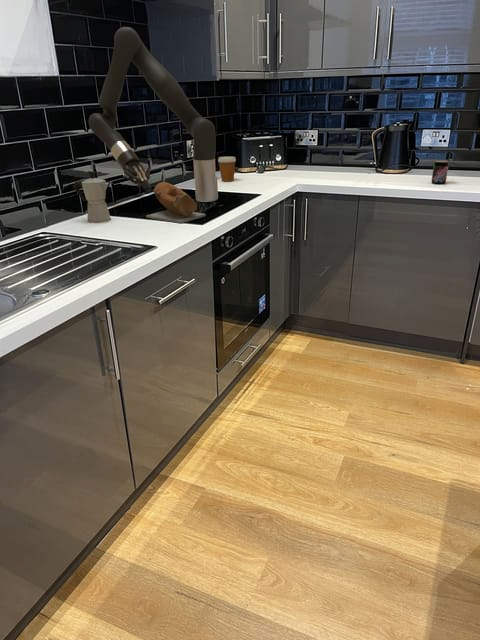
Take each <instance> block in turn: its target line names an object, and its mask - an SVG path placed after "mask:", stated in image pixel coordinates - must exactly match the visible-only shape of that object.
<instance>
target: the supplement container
mask: <svg viewBox="0 0 480 640" xmlns="http://www.w3.org/2000/svg"><path fill="white" fill-rule="evenodd" d="M449 165H450V160H443V159H442V160H441V159H440V160H438V159H437V160H434V161H433V168H432V175H431V181H430V182H431V184H433V185H442V186H443V185H445V184H447V183H446V182H447V179H448V178H447V177H448V170H449Z"/></svg>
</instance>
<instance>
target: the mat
mask: <svg viewBox="0 0 480 640" xmlns="http://www.w3.org/2000/svg"><path fill="white" fill-rule="evenodd" d="M206 216H207V215H206V213H202V212H196V211H194V212H193V213H192V214H190V215H189V216H188V217H184V216H180V215H178V214H176V213H174V212H172V211H170V210H169V209H165V210H161V211H157V212H155V213H151V214H146V215H145V217H146V218H148V219H153V220H157V221H164V222H168V223H169V222H170V223H176V224H179V225H180V224H184V223H187V222H190V221H193V220H197V219H200V218H203V217H206Z"/></svg>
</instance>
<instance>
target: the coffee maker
mask: <svg viewBox="0 0 480 640" xmlns="http://www.w3.org/2000/svg"><path fill="white" fill-rule="evenodd" d="M88 174H89V177H90V178H88V179H87V178H84V179H79V180H76V181H74V184H73V189H74V190H75V191H76V193H77V195H78V196H79V198H80V199H81V201H82V202H85V201H87V222H88V223H91V224H99V223H100V224H101V223H107V222H108V221H109V222H110V221H111V220H112V218H111V215H110V211H109V209H108V205H107V202H106V200H105V199H106V190H107V188H108V186H109V184H110V183H109V182H107V181H106V180H105V179H101V178H97V177H96V171H94V170H93V171H88ZM79 187H80V188H81V189H82V190H83V193H84V195H83V193H82V191H81V190H80V189H79Z"/></svg>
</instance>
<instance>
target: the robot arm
mask: <svg viewBox="0 0 480 640" xmlns="http://www.w3.org/2000/svg"><path fill="white" fill-rule="evenodd" d="M113 40H114V44H113V52H112V57H111V62H110V66H109V68H108V72H107V75H106V78H105V80H104V82H103V85H102V88H101V93H100V95H99V99H98V105H99V106H100V107H101V108H102V109H103V111H102V113H98V112H95V113H91V114H90V116H89V118H88V125H89V128H90V130H91V131H92V132H93V134H94V135H95V136H96V137H98V138H99V140H100V141H101V142H103V143H104V144H105V146H106V147H107V148H108V149H109V151H110V152H111V154H112V155H113V158H114V159H115V161H116V162H117V163H118V165H119V166H120V167H121V169H122V171H124V174H123V176H122V177H123V178H124V179H126V180H128V181H129V182H131V183H133V184H135V185H138V184H139V185H140V186H141V187H142V189H144V191H145V192H148V193H149V192H150V191H151V190H152V185H151V184H150V183H149V180H150V179H151V169H150V167H144V165H142V164H141V163H140V159H139V156H137V155H136V153H135V152H134V150H133V149H132V147H131V146H130V144H128V143H127V141H126V140H125V139H124V137H123V136H122V135H121V133H119V131H117V130H115V128H116V123H117V107H118V105H119V102H120V98H121V95H122V92H123V88H124V83H125V80H126V75H127V73H128V70H129V67H130V65H131V62H132V64H133V65H134V66H135V67H136V68H137V69H138V70H139V72H140V74H142V76H143V77H144V79H145V81H146V82H147V84H148V86H150V88H151V90H152V91H153V92H154V93H155V94H156V96H157V97H158V98H159V99H160V100H161V101H162V102H163V103H164V105H165V106H166V107H167V108H168V109H169V110H170V111H171V112H172V113H174V114H175V116H176V117H177V118H178V119H179V120H180V121H181V123H182V124H183V125H184V127H185V128H186V129H187V131H188V132H189V135H191V137H192V138H193V148H194V149H193V153H192V158H193V159H192V160H193V172H194V173H193V174H194V175H193V176H194V192H195V200H196V201H195V202H201V203H207V202H209V203H210V202H214V201H218V199H219V192H218V191H219V186H218V176H216V175H217V174H216V153H217V152H216V150H217V146H216V145H217V140H216V139H217V137H216V136H217V135H216V127H215V124H214V123H213V122H212V121H211V120H209V119H207V118H204V117H203V116H202V115H201V114H200V113H199V112H198V110H197V109H195V108H194V106H193V105H192V104H191V102H190V100H189V98H188V97H187V95H186V94H185V92H184V90H183V88H182V87H181V85H180V84H179V83H178V82H177V80H176V79H175V78H174V76H172V74H171V72H169V71H168V70H167V69H166V67H164V66H163V65H162V64H161V62H159V61H158V60H157V59H156V58H155V57H154V56H153V55H152V53H151V52H150V51H149V50H148V48H147V47H146V46H145V44H144V42H143V41H142V39H141V37H140V36H139V34H138V32H137V31H136V30H135V29H134V28H132V27H130V26H129V27H128V26H122V27H120V28H119V29H117V30H116V32H115V34H114V39H113Z"/></svg>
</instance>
